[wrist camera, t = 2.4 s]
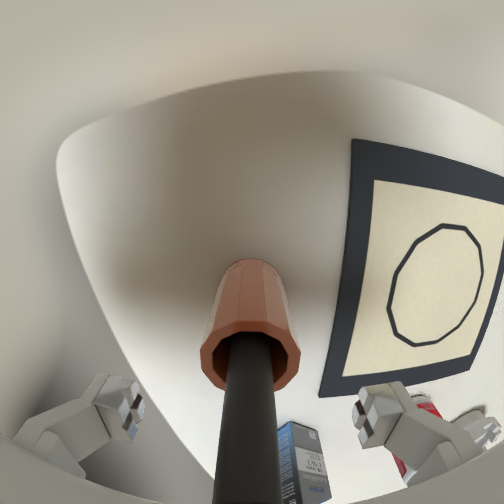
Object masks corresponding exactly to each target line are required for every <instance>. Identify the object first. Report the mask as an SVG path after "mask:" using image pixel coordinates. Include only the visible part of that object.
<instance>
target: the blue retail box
mask: <svg viewBox="0 0 504 504" xmlns="http://www.w3.org/2000/svg"><path fill="white" fill-rule="evenodd" d="M277 432H278V444H279V456H280V468H281V481H282V494H283V504H321V503H323V502H325V501H327V500H329V499H331V498H332V496H331V491H330V486H329V481H328V476H327V471H326V467H325V462H324V457H323V453H322V449H321V444H320V440H319V436H318V432H317V431H316V430H313V429H310V428H308V427H305V426H302V425H299V424H296V423H293V422H289V423H288V424H287V425H286V426H284V427H283V428H282V429H280V430H279V431H277Z"/></svg>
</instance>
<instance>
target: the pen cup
mask: <svg viewBox="0 0 504 504" xmlns="http://www.w3.org/2000/svg"><path fill="white" fill-rule="evenodd" d="M240 331H248V332H263V333H265V334H267V335H269V342H270V352H271V363H272V374H273V385H274V392H275V391H278V390H280V389H282V388H284V387H285V386H286V385H287V384H288V383H289V382H290V380H291V379H292V378H293V377H294V376H295V375H296V374H297V372H298V368H299V362H300V356H301V352H300V347H299V344H298V340H297V336H296V332H295V328H294V324H293V320H292V317H291V313H290V309H289V305H288V301H287V298H286V294H285V290H284V286H283V283H282V281H281V279H280V276H279V274H278V273H277V271H276V270H275V269H274V268H273V267H272V266H271V265H270V264H268V263H266V262H264V261H262V260H258V259H244V260H241V261H238V262H236V263H234V264H233V265H232V266H230V267H229V268H228V269H227V271H226V272H225V273H224V275H223V278H222V280H221V281H220V284H219V287H218V291H217V294H216V297H215V301H214V304H213V307H212V311H211V314H210V317H209V321H208V324H207V327H206V331H205V334H204V338H203V341H202V344H201V348H200V359H201V369H202V371H203V372H204V374H205V375H206V376H207V377H208V378H209V380H210V381H211V382H212V383H213V384H214V386H216V387H217V388H219V389H222V390H224V391H225V387H226V379H227V371H228V363H229V355H230V347H231V339H232V335H233V334H235V333H237V332H240Z"/></svg>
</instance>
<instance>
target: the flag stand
mask: <svg viewBox="0 0 504 504" xmlns="http://www.w3.org/2000/svg"><path fill="white" fill-rule="evenodd" d="M452 424H454V425H456V426H458V427H460V428H462V429H464V430H466V431H468V432H469V434H470V435H471V437H472V438H473V440H474V441H475V443H476V444H477V446H478V447H479V449H480V451H481V452H482V453H483V452H485V451H487V449H486V448H485V445H486V444H487V443H488V442H489V441H491V443H493V442H494V441H496V440H497V438H498V437H499V435H500V433H501V431H500V428H501V425H500V424H499V423H498V421H497V420H496V419H495V418H494V417H487V418H486V417H485V416H484V415H483V413H482V412H481V411H480V410H474V411H471V412H469V413H467V414H465V415H463V416H462V417H460V418H459V419H457V420H456V421H454V422H453V423H452Z"/></svg>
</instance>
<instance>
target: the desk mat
mask: <svg viewBox="0 0 504 504" xmlns="http://www.w3.org/2000/svg"><path fill="white" fill-rule="evenodd" d="M503 273H504V177H502V176H499V175H497V174H494V173H491V172H489V171H486V170H483V169H480V168H477V167H474V166H471V165H468V164H465V163H461V162H458V161H455V160H451V159H448V158H444V157H441V156H437V155H433V154H429V153H425V152H421V151H417V150H413V149H408V148H404V147H399V146H394V145H389V144H384V143H379V142H373V141H367V140H361V139H355V138H354V139H352V157H351V181H350V198H349V211H348V223H347V233H346V243H345V252H344V260H343V268H342V275H341V282H340V289H339V296H338V302H337V308H336V314H335V320H334V325H333V331H332V336H331V341H330V346H329V351H328V356H327V360H326V365H325V369H324V374H323V378H322V382H321V386H320V390H319V394H318V396H319V398H325V397H337V396H347V395H356V394H358V393H359V391H360V389H361V388H362V387H366V386H373V385H379V384H387V383H391V382H397V381H400V382H401V383H402V384H403V385H404V387H406V386H411V385H415V384H420V383H424V382H428V381H433V380H437V379H440V378H444V377H448V376H452V375H455V374H458V373H462V372H465V371H468V370H470V367H471V365H472V363H473V361H474V359H475V357H476V354H477V352H478V350H479V347H480V345H481V342H482V340H483V337H484V335H485V332H486V329H487V327H488V324H489V321H490V318H491V315H492V312H493V309H494V306H495V303H496V300H497V296H498V293H499V289H500V285H501V281H502V278H503Z"/></svg>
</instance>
